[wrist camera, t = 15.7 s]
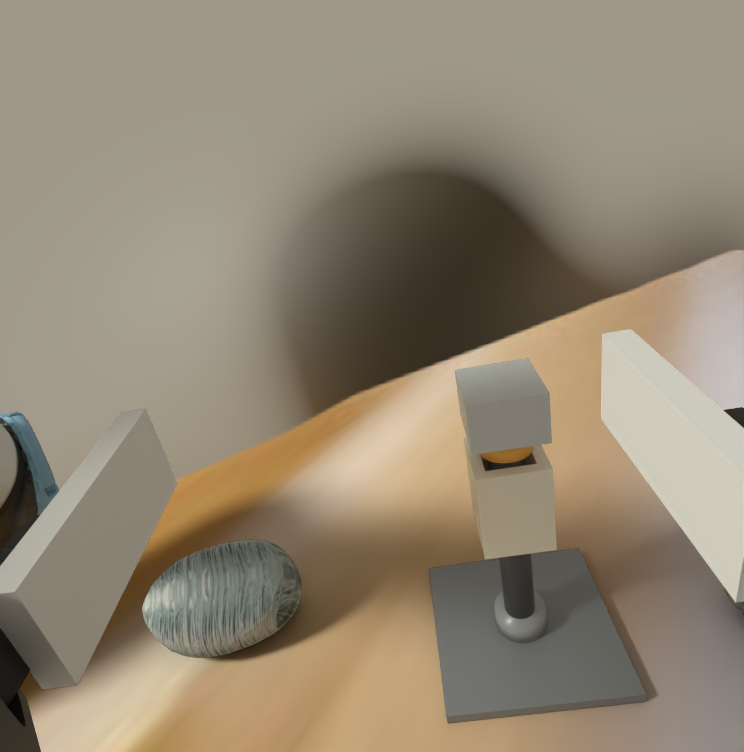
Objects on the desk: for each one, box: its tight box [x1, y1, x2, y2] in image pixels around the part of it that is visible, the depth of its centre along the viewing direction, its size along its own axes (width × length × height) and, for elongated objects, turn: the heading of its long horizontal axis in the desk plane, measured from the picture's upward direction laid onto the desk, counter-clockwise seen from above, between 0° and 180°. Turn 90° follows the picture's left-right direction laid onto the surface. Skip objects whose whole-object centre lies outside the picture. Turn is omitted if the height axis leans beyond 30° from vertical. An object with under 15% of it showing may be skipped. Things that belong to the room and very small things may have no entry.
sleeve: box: [464, 438, 557, 560], centre depth 39 cm, size 5×5×7 cm
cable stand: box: [429, 358, 646, 723], centre depth 40 cm, size 14×14×23 cm
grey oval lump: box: [142, 540, 302, 658], centre depth 49 cm, size 14×10×10 cm
